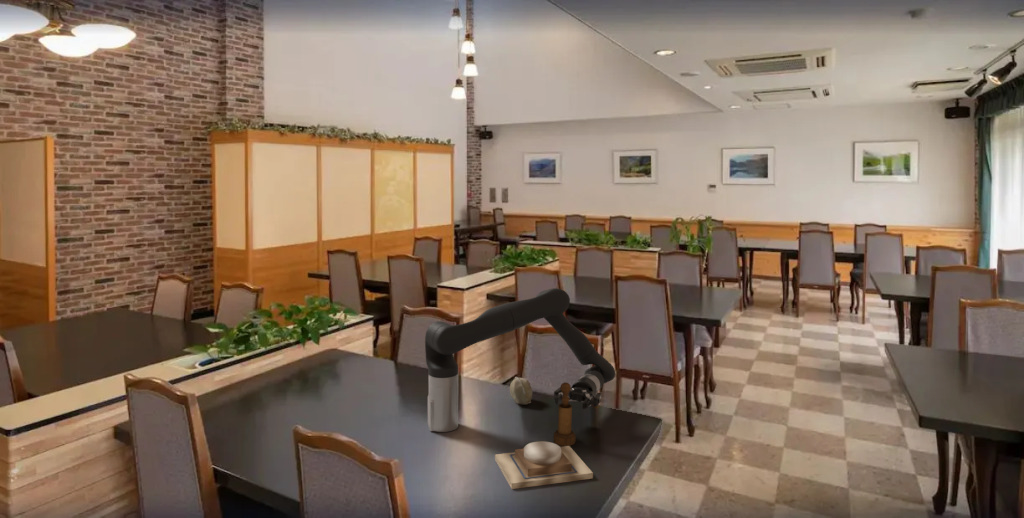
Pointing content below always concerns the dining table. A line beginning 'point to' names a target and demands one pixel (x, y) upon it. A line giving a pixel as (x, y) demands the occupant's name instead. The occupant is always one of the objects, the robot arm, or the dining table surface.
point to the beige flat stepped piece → (542, 465)
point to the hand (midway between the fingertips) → (570, 403)
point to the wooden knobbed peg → (564, 420)
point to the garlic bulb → (521, 391)
